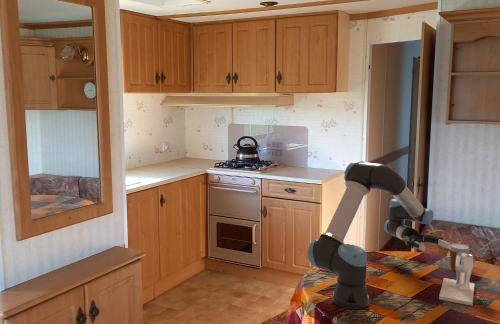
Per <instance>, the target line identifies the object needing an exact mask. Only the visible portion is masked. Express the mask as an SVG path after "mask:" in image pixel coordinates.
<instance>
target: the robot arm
mask: <svg viewBox="0 0 500 324" xmlns="http://www.w3.org/2000/svg"><path fill="white" fill-rule="evenodd" d="M343 178H344V179H343V180H344V184H345V187H346V188H345V190H344V192H343V195H342V197H341V198H340V201H339V203H338V205H337V206H336V209H335V212H334V214H333V216H332V217H331V220H330V222H329V224H328V227H327V228H326V230H325V232H323V233H321V234H320V235H319V237H318V238H316V239H313V240H312V241H311V242H310V243H309V245H308V247H307V258H308V261H309V263H310V264H311V265H312V266H314V267H316V268H318V269H322V270H325V271H328V272H330V273H333V274H336V275H337V276H336V277H337V278H336V279H337V280H336V281H337V282H336V285H335V288H334V289H333V293H332V299H331V300H332V302H333V304H334V305H336V306H338V307H340V308H343V309H346V310H348V309H349V310H361V309H365V308H367V307H368V306H369V304H370V296H369V294H368V290H367V286H366V282H367V281H366V279H367V266H368V265H367V264H368V259H367V257H368V256H367V255H368V254H367V252H366V251H365V249H364V248H362V247H360V246H358V245H355V244H349V243H344V240H345V238H346V236H347V234H348V232H349V229H350V227H351V224H352V222H353V221H354V218H355V216H356V214H357V212H358V210H359V208H360V205H361V203H362V201H363V199H364V197H365V196H367V195H369V194H370V192H371V190H372V189H374V190H380V191H382V192H385V193H387V194H388V195H390V196H392V197H393V198H391V199H390V201H389V210H388V211H389V213H388V219H387V220H386V221H385V223H384V224H383V228H384V231H385V233H387V234H389V235H390V236H393V237H395V238H398V239H399V240H402V242H404V244H405V245H406V247H410V249H417V250H419V251H420V250H421V251H422V252H425V251H426V244H423V243H429V244H430V243H432V244H437V245H438V246H440V247H442V248H445V249H447V250H450V249H449V246H450V242H448V241H446V240H444V237H442V236H441V237H440V236H436V235H431V234H428V233H423V234H421V233H419V232H418V231H417V229H415V228H413V227H410V226H409V225H406V224H404V222H405V220H407V221H411V222H415V223H420V224H423V225H424V224H425V225H430V224H432V221H433V219H434V211H433V210H432V209H430V208H425V207H424V206H423V205H422V203H421V202H420V201H419V200H418V199H417V197H416V196H415V195H414V194H413V192H412V191H411V190H410V189H409V188H408V186H407V183H406V180H405V179H404V178H403V176H402V175H401V174H400V173H398V172H397V171H396V170H395V169H393V168H392V167H390V166H388V165H386V164H383V163H375V162H367V161H363V160H355V161H354V160H353V161H352V162H350V163H349V164H348V165H347V166H346V168H345V170H344V176H343Z"/></svg>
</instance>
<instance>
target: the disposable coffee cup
mask: <svg viewBox="0 0 500 324" xmlns="http://www.w3.org/2000/svg"><path fill="white" fill-rule="evenodd" d="M448 250H449V255H450V256H449V259H450V269H451V270H452V271H454V272H456V257H457V254H458V253H467V254H470V251H471V249H470V247H469V245H467V244H463V243H458V242H457V243H455V242H454V243H451V244H450V245H449V249H448Z"/></svg>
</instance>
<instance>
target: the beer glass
mask: <svg viewBox="0 0 500 324" xmlns="http://www.w3.org/2000/svg"><path fill="white" fill-rule="evenodd" d="M473 265H474V256H473V255H472V254H471V253H468V254H467V253H458V254H457V257H456V271H455V274H456V276H455V277H456V278H455V280H456V283H455V287H456V288H457V289H460V290H469V289H470V285H469V282H470V280H471V276H472V272H473V268H474V267H473Z"/></svg>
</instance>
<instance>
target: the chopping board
mask: <svg viewBox="0 0 500 324" xmlns="http://www.w3.org/2000/svg"><path fill="white" fill-rule="evenodd" d="M455 283H456V279H452V278H451V279H450V278H446V277H444V278H443V281H442V285H441V287H440V288H441V289H440V291H439V296H438V299H439V300H440V301H447V302H451V303H456V304H461V305H467V306H473V303H474V294H475V293H474V292H475V282H474V283H473V282H470V281H469V285H470V289H469V290H460V289H457V288H456V287H455Z"/></svg>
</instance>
